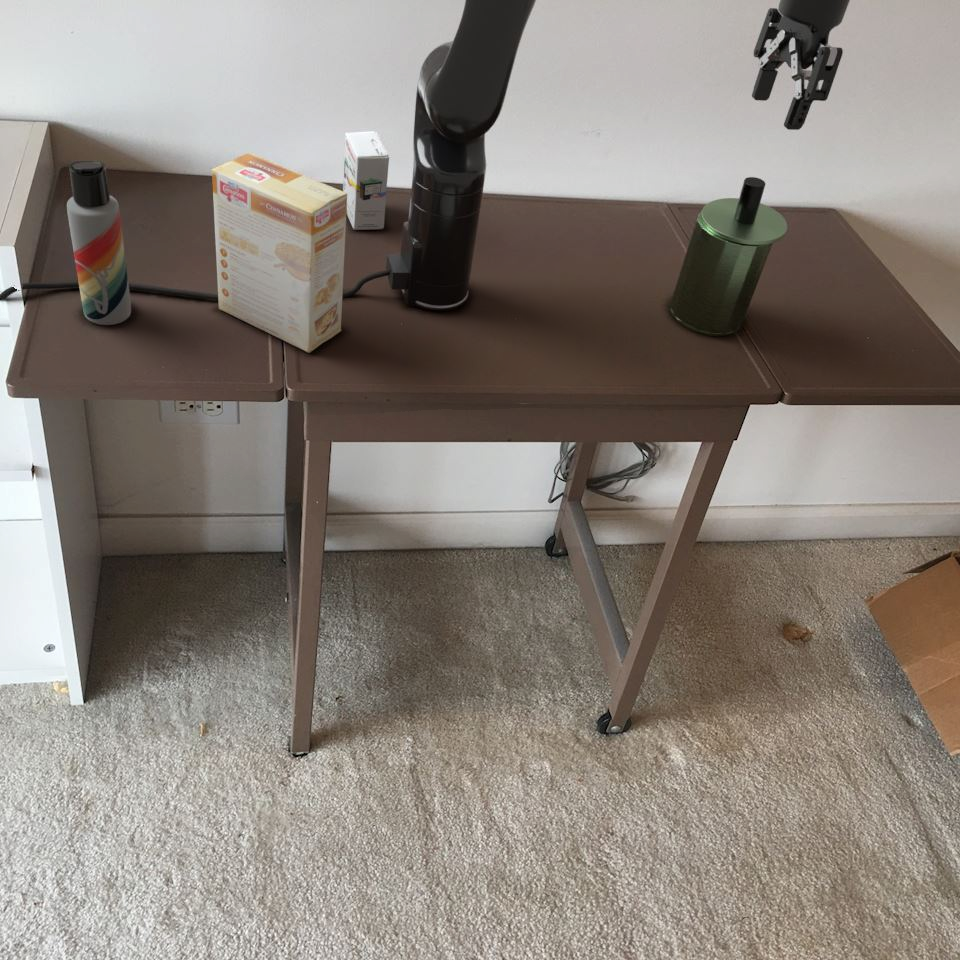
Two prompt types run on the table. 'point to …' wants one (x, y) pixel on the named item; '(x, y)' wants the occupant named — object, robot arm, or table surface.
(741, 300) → the trash can
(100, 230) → the lotion bottle
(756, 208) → the bin lid
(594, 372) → the table surface
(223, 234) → the coffeecake box
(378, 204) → the ink box
